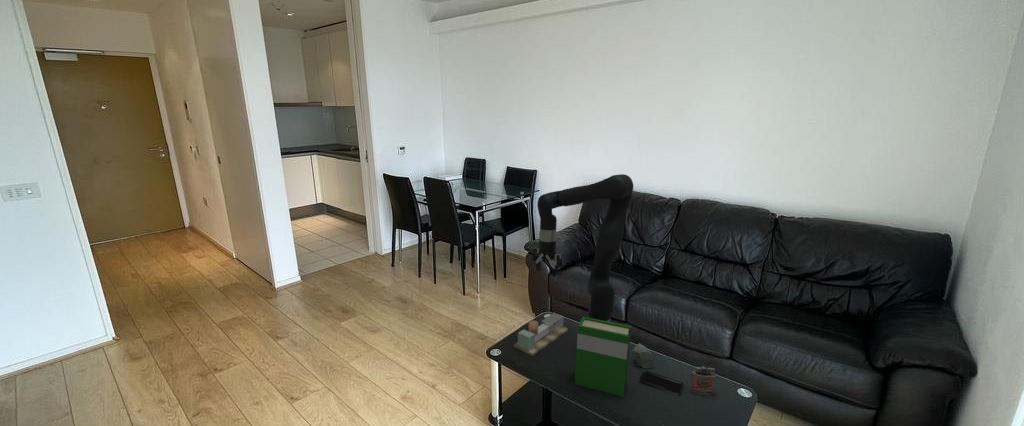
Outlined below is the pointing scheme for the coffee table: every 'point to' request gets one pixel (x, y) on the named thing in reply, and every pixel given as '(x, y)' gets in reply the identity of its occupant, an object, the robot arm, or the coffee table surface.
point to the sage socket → (526, 340)
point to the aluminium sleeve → (554, 323)
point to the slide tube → (538, 329)
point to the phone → (661, 383)
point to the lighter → (703, 381)
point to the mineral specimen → (643, 356)
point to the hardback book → (602, 355)
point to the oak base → (543, 342)
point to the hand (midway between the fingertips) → (546, 273)
